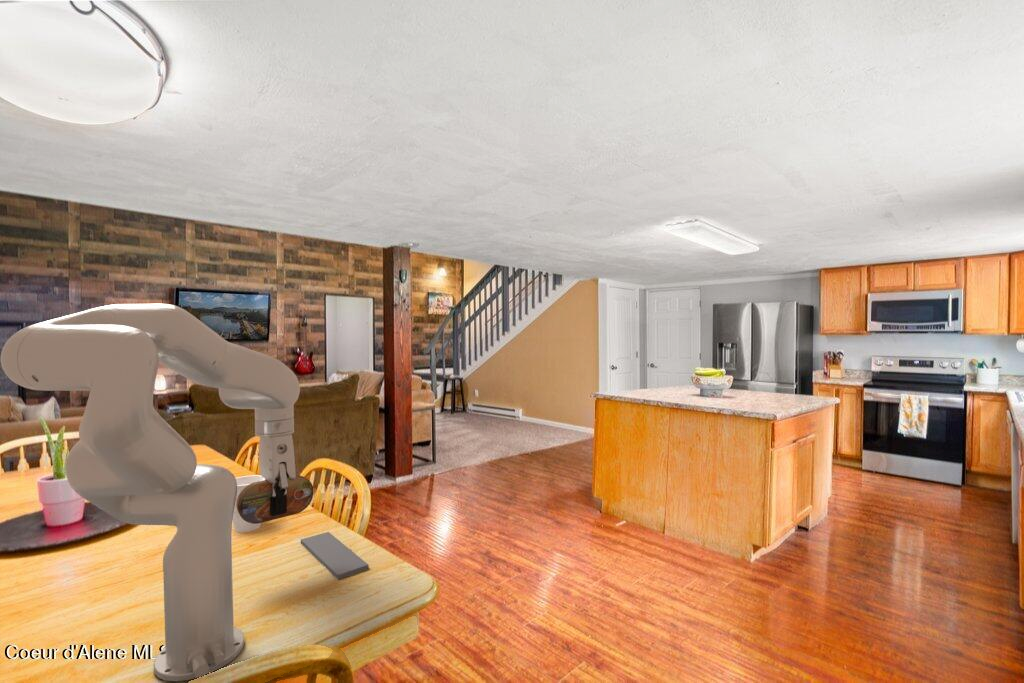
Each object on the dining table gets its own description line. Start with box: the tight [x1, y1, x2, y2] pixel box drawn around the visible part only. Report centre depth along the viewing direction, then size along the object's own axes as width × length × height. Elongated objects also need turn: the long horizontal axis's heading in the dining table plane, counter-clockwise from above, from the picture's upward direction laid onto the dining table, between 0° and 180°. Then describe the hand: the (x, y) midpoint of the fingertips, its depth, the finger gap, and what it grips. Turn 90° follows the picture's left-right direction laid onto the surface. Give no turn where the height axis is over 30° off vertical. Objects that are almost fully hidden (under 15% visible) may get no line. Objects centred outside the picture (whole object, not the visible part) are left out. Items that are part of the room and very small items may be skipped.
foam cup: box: [232, 474, 265, 533], centre depth 133 cm, size 10×9×13 cm
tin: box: [236, 474, 315, 524], centre depth 105 cm, size 15×3×8 cm, turn 131°
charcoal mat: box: [300, 531, 370, 580], centre depth 117 cm, size 24×7×1 cm, turn 41°
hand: (276, 511), depth 105 cm, fingers closed on tin, 2 cm apart
